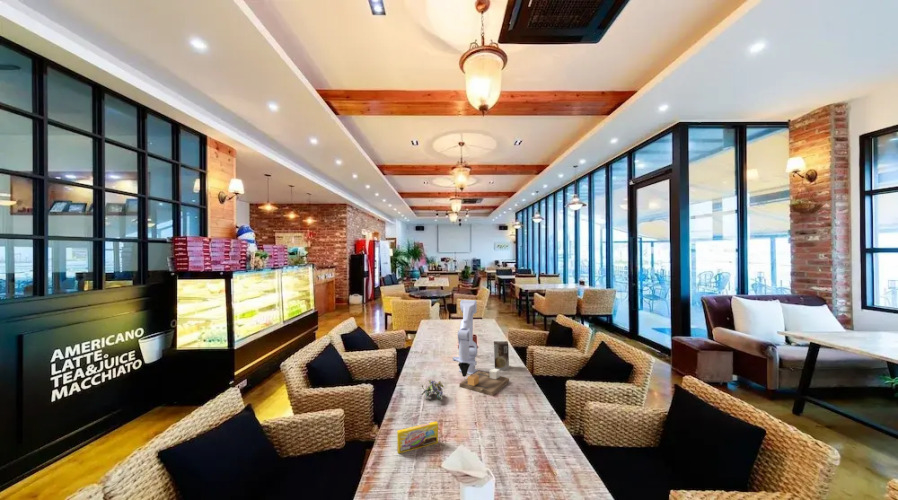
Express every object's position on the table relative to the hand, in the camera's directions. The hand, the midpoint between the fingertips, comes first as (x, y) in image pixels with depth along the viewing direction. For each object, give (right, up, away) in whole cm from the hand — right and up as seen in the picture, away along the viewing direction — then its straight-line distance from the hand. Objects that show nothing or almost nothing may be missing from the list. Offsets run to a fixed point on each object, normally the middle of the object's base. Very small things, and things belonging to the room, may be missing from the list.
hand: (464, 375), depth 181 cm
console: (+11, -5, +1) cm, 13 cm away
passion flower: (-17, -6, -15) cm, 23 cm away
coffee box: (+25, -5, +26) cm, 36 cm away
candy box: (-21, -7, -55) cm, 59 cm away
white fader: (+18, -3, +5) cm, 18 cm away
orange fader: (+5, -3, -3) cm, 6 cm away
